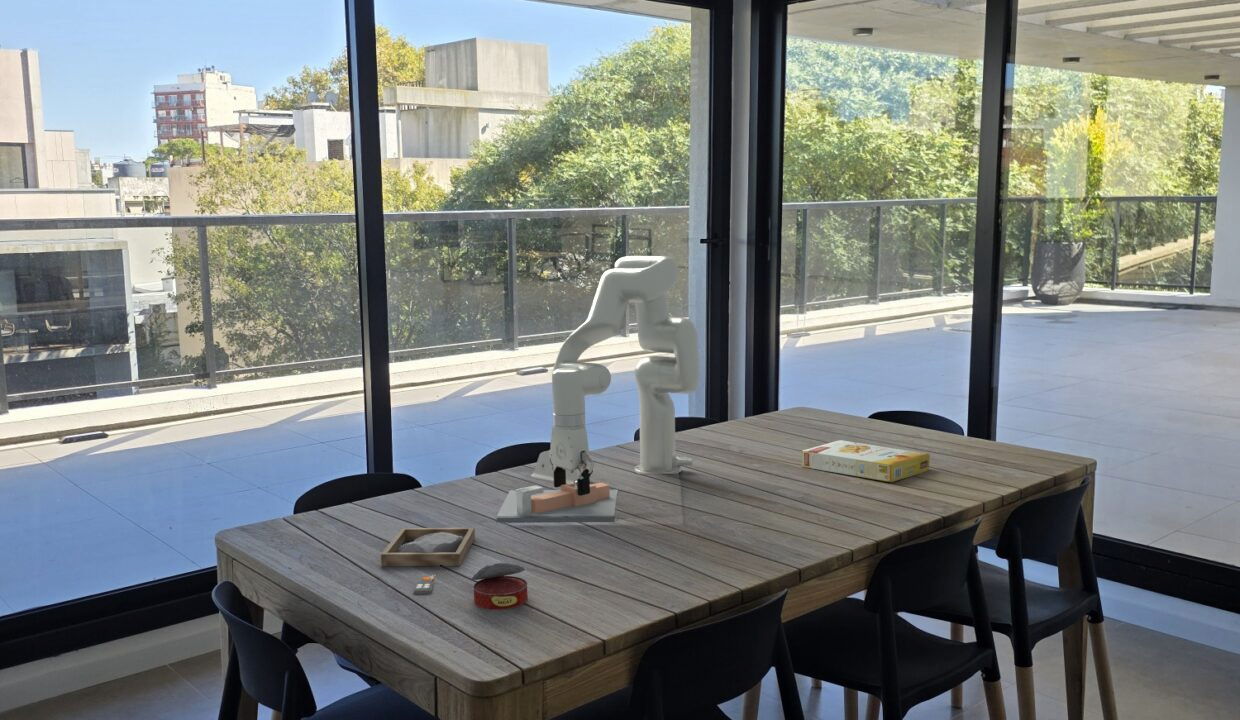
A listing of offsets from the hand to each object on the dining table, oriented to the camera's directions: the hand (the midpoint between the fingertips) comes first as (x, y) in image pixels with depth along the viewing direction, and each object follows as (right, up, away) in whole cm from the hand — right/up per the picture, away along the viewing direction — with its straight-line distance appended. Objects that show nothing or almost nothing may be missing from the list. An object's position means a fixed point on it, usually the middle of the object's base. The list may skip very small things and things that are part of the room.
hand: (571, 490), depth 256 cm
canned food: (-10, -13, -58) cm, 61 cm away
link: (-1, -3, 0) cm, 3 cm away
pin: (+2, -4, +2) cm, 5 cm away
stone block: (-28, -10, -31) cm, 43 cm away
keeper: (-9, -6, -7) cm, 13 cm away
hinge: (-4, -2, +24) cm, 25 cm away
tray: (-29, -9, -30) cm, 42 cm away
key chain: (-26, -13, -48) cm, 56 cm away
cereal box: (+78, +1, +35) cm, 86 cm away
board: (-3, -5, +1) cm, 6 cm away
